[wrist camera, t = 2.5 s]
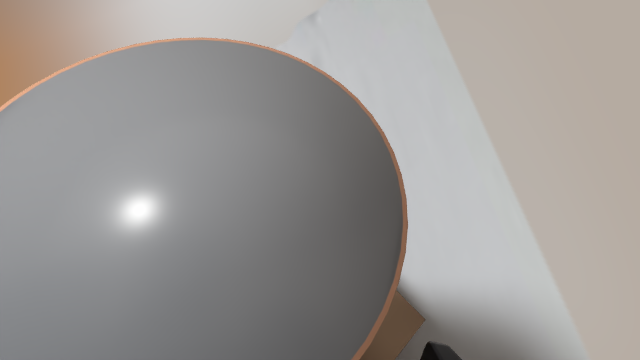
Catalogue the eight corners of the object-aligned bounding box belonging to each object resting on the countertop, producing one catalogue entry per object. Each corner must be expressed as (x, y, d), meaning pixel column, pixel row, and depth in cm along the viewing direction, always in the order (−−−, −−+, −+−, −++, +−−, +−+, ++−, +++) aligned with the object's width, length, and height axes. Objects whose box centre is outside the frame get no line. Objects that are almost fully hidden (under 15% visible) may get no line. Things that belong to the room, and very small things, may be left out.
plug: (253, 403, 14) (34, 751, 2) (193, 318, 15) (-170, 159, 3) (329, 323, 16) (490, 204, 4) (269, 254, 17) (236, -2, 5)
